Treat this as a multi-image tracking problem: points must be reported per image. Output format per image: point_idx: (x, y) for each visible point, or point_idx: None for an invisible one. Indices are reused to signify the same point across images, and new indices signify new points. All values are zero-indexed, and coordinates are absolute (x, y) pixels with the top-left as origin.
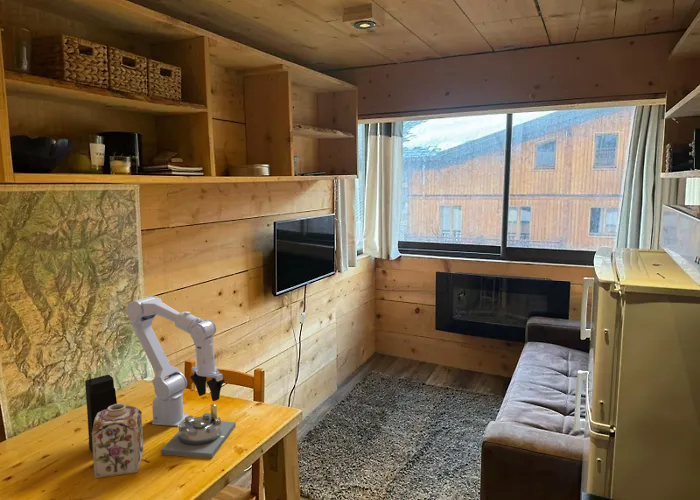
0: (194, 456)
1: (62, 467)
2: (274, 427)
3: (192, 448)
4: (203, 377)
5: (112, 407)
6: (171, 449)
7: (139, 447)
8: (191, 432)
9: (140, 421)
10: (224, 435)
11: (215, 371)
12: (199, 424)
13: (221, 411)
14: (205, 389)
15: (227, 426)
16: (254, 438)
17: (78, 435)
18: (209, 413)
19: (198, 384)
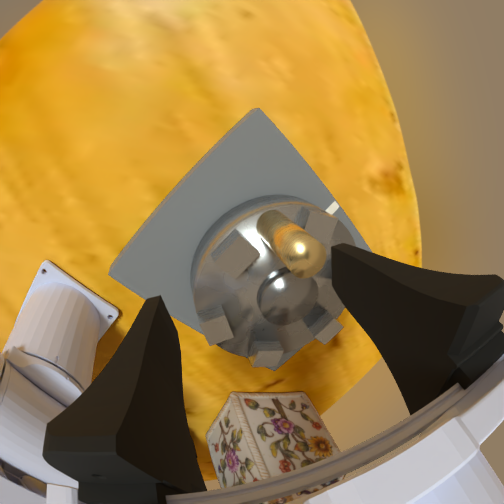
0: None
1: (203, 459)
2: (348, 17)
3: None
4: (159, 436)
5: None
6: (291, 352)
7: (290, 421)
8: (334, 334)
9: (288, 467)
10: (330, 198)
11: (478, 430)
12: (303, 304)
13: (68, 112)
14: (157, 317)
15: (274, 156)
16: (370, 109)
17: None
18: (235, 243)
19: (179, 415)
